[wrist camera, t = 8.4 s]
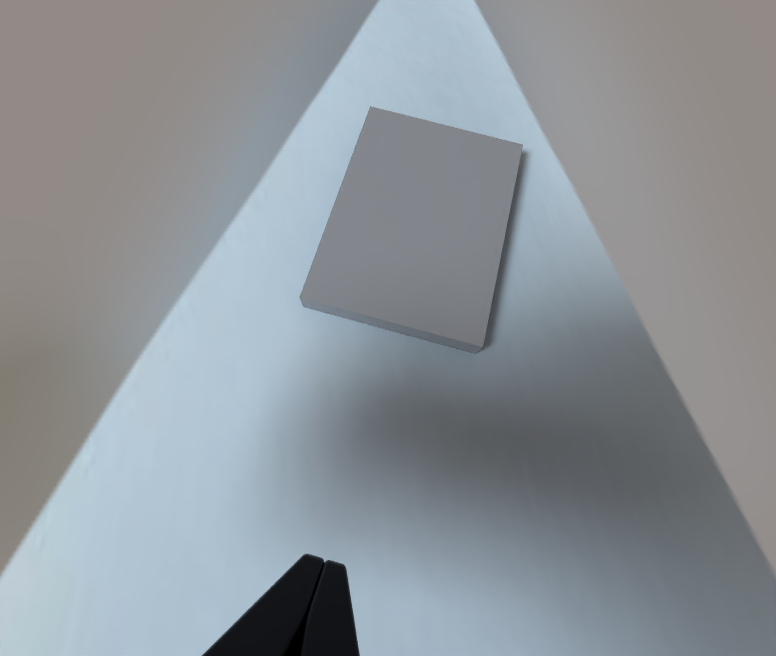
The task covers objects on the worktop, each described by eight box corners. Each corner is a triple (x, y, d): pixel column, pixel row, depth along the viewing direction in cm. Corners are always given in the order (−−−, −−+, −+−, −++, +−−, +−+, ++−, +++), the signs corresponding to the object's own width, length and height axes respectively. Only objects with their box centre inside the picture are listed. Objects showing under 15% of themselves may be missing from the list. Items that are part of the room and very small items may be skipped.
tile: (483, 346, 16) (522, 144, 20) (299, 297, 17) (370, 106, 20) (473, 356, 18) (512, 166, 21) (304, 310, 18) (369, 130, 22)
